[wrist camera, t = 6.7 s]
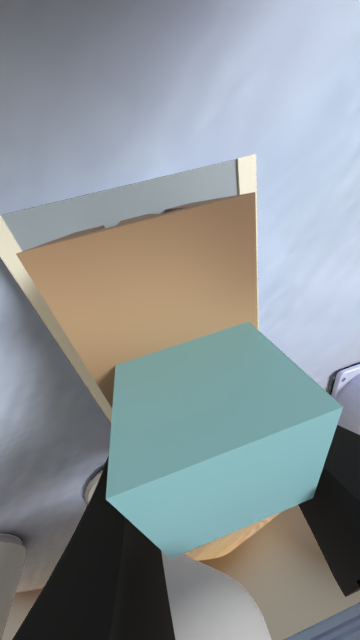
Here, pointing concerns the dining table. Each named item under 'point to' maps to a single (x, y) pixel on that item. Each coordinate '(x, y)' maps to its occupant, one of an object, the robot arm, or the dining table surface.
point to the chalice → (206, 599)
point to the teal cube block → (214, 437)
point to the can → (9, 573)
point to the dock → (109, 209)
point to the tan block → (150, 281)
